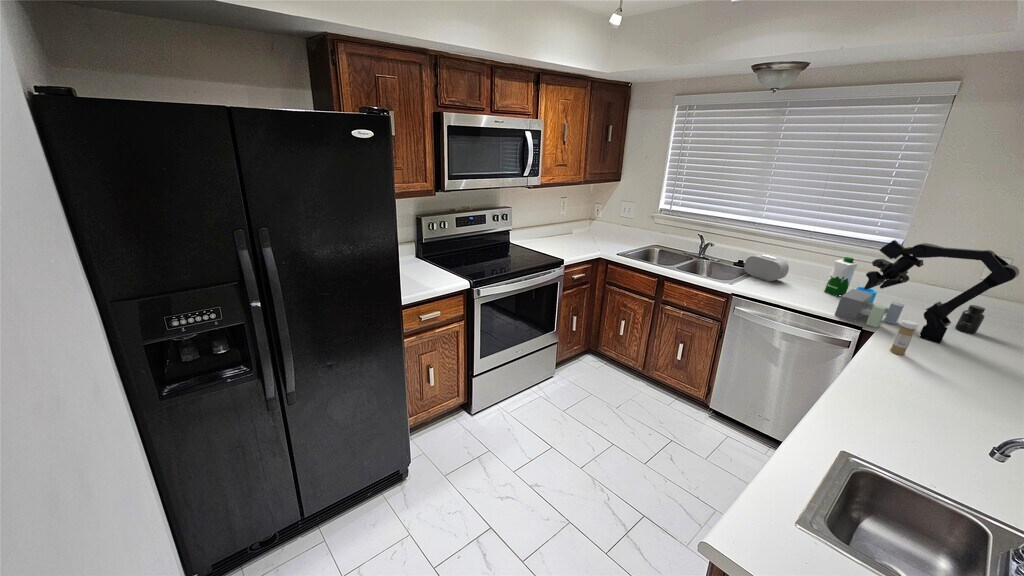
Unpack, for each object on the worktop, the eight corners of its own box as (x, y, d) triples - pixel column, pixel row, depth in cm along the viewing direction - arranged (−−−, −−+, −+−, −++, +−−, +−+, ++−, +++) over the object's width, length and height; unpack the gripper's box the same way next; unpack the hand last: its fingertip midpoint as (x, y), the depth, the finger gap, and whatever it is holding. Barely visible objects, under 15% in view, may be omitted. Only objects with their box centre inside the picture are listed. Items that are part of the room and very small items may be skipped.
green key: (879, 324, 188) (887, 306, 184) (876, 327, 185) (884, 309, 182) (843, 313, 198) (849, 296, 195) (839, 316, 195) (846, 298, 192)
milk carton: (847, 295, 223) (861, 260, 216) (838, 297, 220) (851, 261, 212) (830, 289, 231) (842, 255, 223) (821, 291, 227) (833, 256, 220)
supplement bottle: (958, 331, 185) (970, 307, 181) (951, 326, 191) (963, 302, 187) (979, 335, 182) (991, 311, 178) (971, 330, 188) (984, 306, 184)
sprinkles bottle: (906, 353, 163) (919, 323, 158) (902, 356, 161) (916, 325, 156) (891, 348, 167) (904, 318, 162) (887, 351, 164) (900, 321, 159)
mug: (871, 309, 206) (877, 294, 203) (851, 304, 210) (857, 290, 208) (870, 302, 215) (875, 287, 212) (850, 298, 220) (856, 283, 217)
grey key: (897, 321, 192) (904, 304, 189) (894, 324, 189) (902, 306, 186) (855, 309, 203) (861, 293, 200) (852, 312, 201) (858, 295, 197)
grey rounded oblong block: (785, 282, 239) (792, 260, 234) (776, 284, 234) (783, 262, 230) (750, 271, 255) (756, 250, 250) (742, 273, 251) (747, 252, 246)
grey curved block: (865, 312, 201) (873, 293, 197) (854, 321, 190) (862, 301, 187) (845, 307, 207) (852, 288, 203) (834, 315, 196) (841, 296, 192)
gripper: (903, 252, 189) (876, 274, 201) (871, 253, 185) (845, 276, 197) (922, 270, 182) (892, 292, 194) (889, 272, 178) (861, 294, 190)
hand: (872, 288), depth 194 cm, fingers open, 9 cm apart
